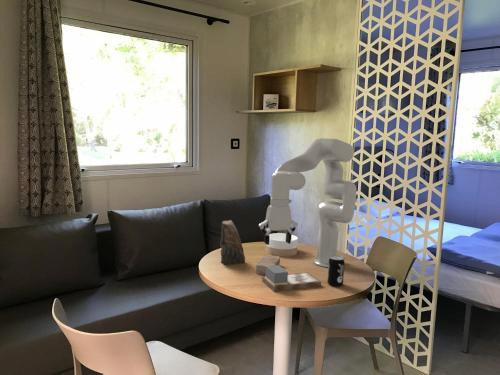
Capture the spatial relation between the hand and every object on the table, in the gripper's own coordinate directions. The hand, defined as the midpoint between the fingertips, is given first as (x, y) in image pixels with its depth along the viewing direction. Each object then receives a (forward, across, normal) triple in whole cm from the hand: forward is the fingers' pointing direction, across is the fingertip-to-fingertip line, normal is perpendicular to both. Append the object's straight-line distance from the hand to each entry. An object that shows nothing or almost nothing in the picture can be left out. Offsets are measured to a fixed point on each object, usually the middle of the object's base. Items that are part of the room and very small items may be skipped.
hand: (277, 243), depth 163 cm
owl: (+18, +8, -35) cm, 40 cm away
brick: (+19, -5, -20) cm, 28 cm away
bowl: (+18, -24, -45) cm, 54 cm away
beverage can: (+18, -26, +6) cm, 32 cm away
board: (+18, -8, 0) cm, 20 cm away
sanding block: (+16, 0, 0) cm, 16 cm away
